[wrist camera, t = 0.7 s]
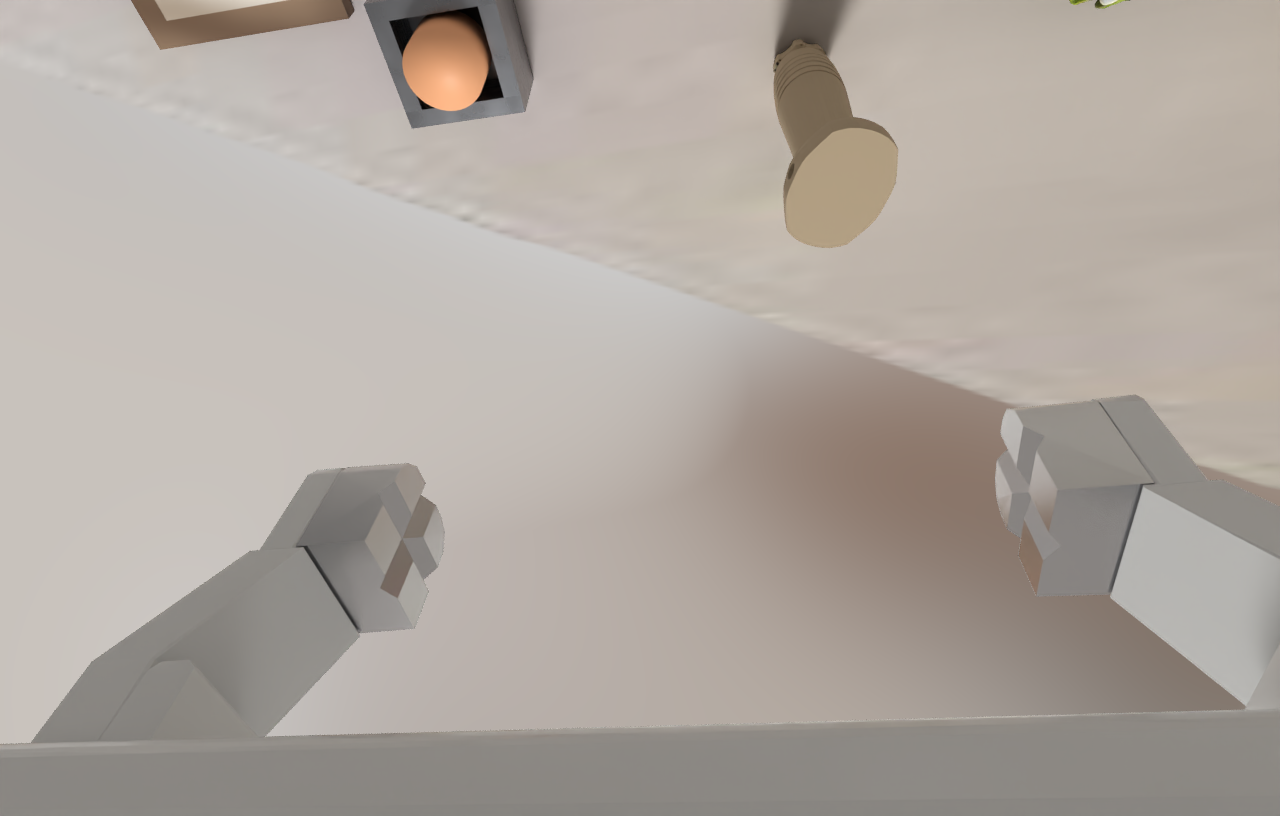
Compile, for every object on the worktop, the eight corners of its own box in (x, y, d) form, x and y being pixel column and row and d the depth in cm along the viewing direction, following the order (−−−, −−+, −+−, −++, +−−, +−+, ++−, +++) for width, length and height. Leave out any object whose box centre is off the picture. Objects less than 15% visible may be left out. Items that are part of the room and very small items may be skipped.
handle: (743, 104, 48) (768, 235, 38) (781, -1, 44) (821, 117, 34) (813, 122, 49) (856, 256, 39) (857, 21, 45) (919, 142, 34)
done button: (402, 15, 42) (389, 36, 40) (478, 3, 41) (469, 23, 39) (430, 93, 45) (419, 116, 43) (501, 82, 45) (493, 104, 42)
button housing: (384, -24, 43) (363, 4, 40) (502, -44, 42) (490, -18, 39) (427, 95, 48) (412, 128, 45) (533, 79, 47) (525, 111, 44)
